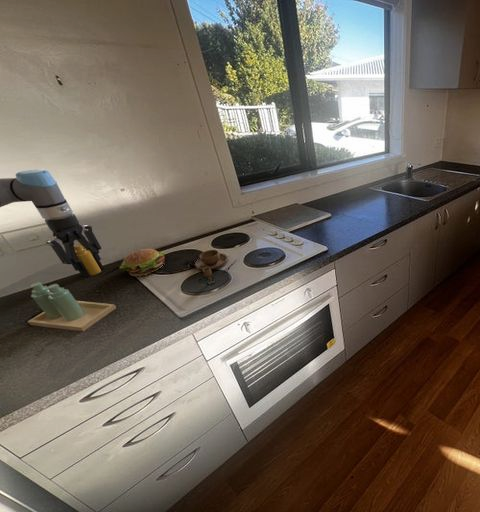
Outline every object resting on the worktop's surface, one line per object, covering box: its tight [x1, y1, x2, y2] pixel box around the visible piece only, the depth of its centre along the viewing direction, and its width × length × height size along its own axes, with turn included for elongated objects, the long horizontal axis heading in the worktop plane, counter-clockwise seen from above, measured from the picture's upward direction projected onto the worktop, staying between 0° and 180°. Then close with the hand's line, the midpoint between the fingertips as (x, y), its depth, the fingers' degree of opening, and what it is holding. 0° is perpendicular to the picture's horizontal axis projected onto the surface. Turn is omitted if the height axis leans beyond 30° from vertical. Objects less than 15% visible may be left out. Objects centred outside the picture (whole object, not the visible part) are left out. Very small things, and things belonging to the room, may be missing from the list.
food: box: [118, 248, 166, 277], centre depth 114 cm, size 14×14×8 cm
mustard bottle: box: [74, 243, 102, 277], centre depth 108 cm, size 5×5×12 cm
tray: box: [27, 300, 117, 332], centre depth 92 cm, size 19×11×2 cm, turn 82°
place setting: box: [187, 249, 237, 281], centre depth 114 cm, size 18×20×6 cm
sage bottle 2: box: [47, 283, 84, 321], centre depth 89 cm, size 5×5×12 cm
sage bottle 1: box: [30, 281, 62, 319], centre depth 90 cm, size 5×5×12 cm
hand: (93, 272), depth 111 cm, fingers closed on mustard bottle, 5 cm apart
